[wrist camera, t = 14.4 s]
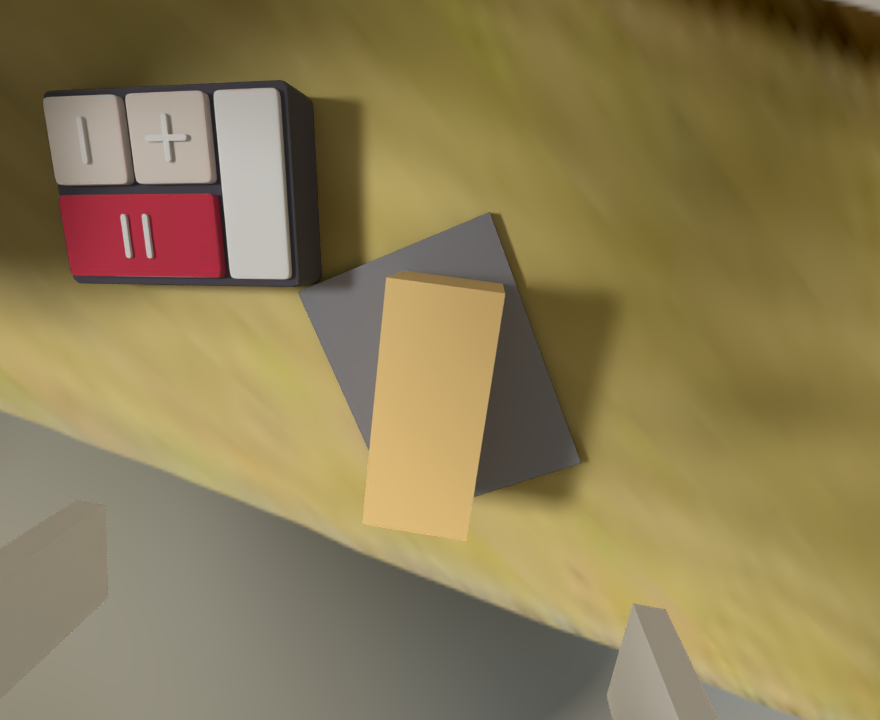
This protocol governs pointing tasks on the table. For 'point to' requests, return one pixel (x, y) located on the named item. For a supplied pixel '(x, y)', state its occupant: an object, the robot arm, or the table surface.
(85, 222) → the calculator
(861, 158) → the table surface
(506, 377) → the charcoal mat
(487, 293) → the ochre block
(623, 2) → the table surface
